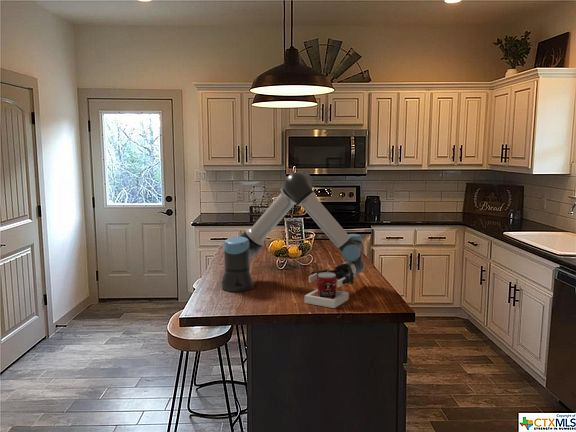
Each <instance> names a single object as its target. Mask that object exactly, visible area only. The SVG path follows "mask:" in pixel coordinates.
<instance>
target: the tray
mask: <svg viewBox="0 0 576 432" xmlns="http://www.w3.org/2000/svg"><path fill="white" fill-rule="evenodd" d="M349 295H350V294H349V292H348V291H344V290H343V291H342V290H338V289H336V298H334V299H328V298H322V297H318V288H317V289H314V290H313V291H311V292H309V293H307V294H305V295H304V304H309V305H314V306H319V307H325V308H331V309H335V308H338V307H339V306H341V305H343V304H344V303H346V302H347V301H348V300H349Z"/></svg>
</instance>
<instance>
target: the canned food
mask: <svg viewBox="0 0 576 432" xmlns="http://www.w3.org/2000/svg"><path fill="white" fill-rule="evenodd" d="M317 289H318V297H322V298H328V299H334V298H336V290H337V278H336V274H334V273H331V272H323V273H319V274H318V278H317Z"/></svg>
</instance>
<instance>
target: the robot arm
mask: <svg viewBox="0 0 576 432" xmlns="http://www.w3.org/2000/svg"><path fill="white" fill-rule="evenodd" d="M295 205H297V206H298V207H302V208H303V210H304V211H305V212H306V213H307V214H308V215H309V216H310V217H311V219H312V220H313V221H314V222H315V223H316V225H317V226H318V227H319V228H320V229H321V230H322V232H323V233H324V234H325V235H326V236H327V237H328V239H329V240H330V241H331V242H332V243H333V244H334V246H335V247H336V248H337V249H338V251H340V253H341V254H342V257H343V259H344V260H345V261H344V262H342V263H340V264H338V265H336V266H335V267H334V269H331V270H330V269H329V268H326V269H322V270H315V271H311V272H310V273H311V274H310V275H309V276H308V283H310V284H311V283H314V281H318V274H319V273H323V272H331V273H334V274H336V288H340V287H342V286H344V285H347V284H348V285H349V284H351V285H353V284H354V279H355V276H356V275H359V274H361V273H362V272H363V271H364V269H365V262H364V260H363V257H362V253H363V251H362V249H363V237H362V235H361V234H357V233H349V234H348V233H347V232H346V230H345V229H344V228H343V227H342V226H341V225H340V223H339V222H338V221H337V220H336V218H334V216H332V214H331V213H330V212H329V211H328V209H327V208H326V207H325V206H324V204H322V203H321V201H320V200H319V199H318V198H317V197H316V195H315V191H314V180H313V178H312V176H311V175H310V174H309V173H307V172H306V171H301V170H300V171H295V172H291V173H290V174H288V176H286V178H285V180H284V184H283V185H282V186H281V187H280V194H279V195H278V196H277V197H276V198H275V199H274V200H273V201H272V203H271V204H270V205H269V206H268V207H267V209H266V210H264V212H263V213H262V214H261V216H260V217H259V218H258V220H256V221H255V223H254V224H253V225H252V227H250V228H246V229H245V230H244V231H243V232H242V233H241V234H240V236H232V237H229V238H227V239H226V240H224V246H223V250H224V251H223V252H224V255H223V256H224V273H223V277H222V280H221V284H220V285H221V287H220V288H221V289H222V290H223V291H227V292H246V291H249V290H252V289H254V281H253V278H252V275H251V274H252V273H251V272H250V260H251V259H253V258H254V257H256V256H257V255H258V254H259V252H260V250H261V248H262V247H263V246H264V245H265V239H266V238H267V237H268V236H269V235H270V234H271V232H272V231H273V230H274V229H275V228H276V226H277V225H278V224H279V223H280V222H281V221H282V220H283V218H284V217H285V216H286V215H287V214H288V213H289V211H290V210H291V209H292V208H293V207H294V206H295Z"/></svg>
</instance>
